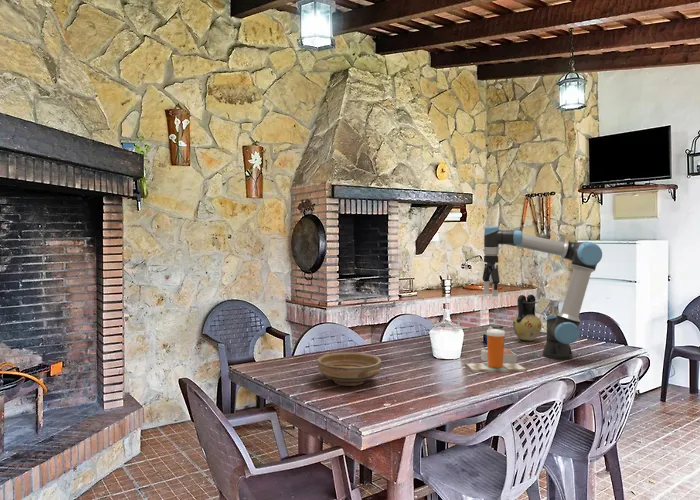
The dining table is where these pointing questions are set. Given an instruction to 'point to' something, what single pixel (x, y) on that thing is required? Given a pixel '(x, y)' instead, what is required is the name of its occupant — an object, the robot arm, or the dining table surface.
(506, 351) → the dome button
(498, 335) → the shaker bottle
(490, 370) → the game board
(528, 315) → the amphora
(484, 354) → the die
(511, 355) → the dome collar
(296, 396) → the dining table surface
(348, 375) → the ceramic bowl
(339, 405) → the dining table surface
